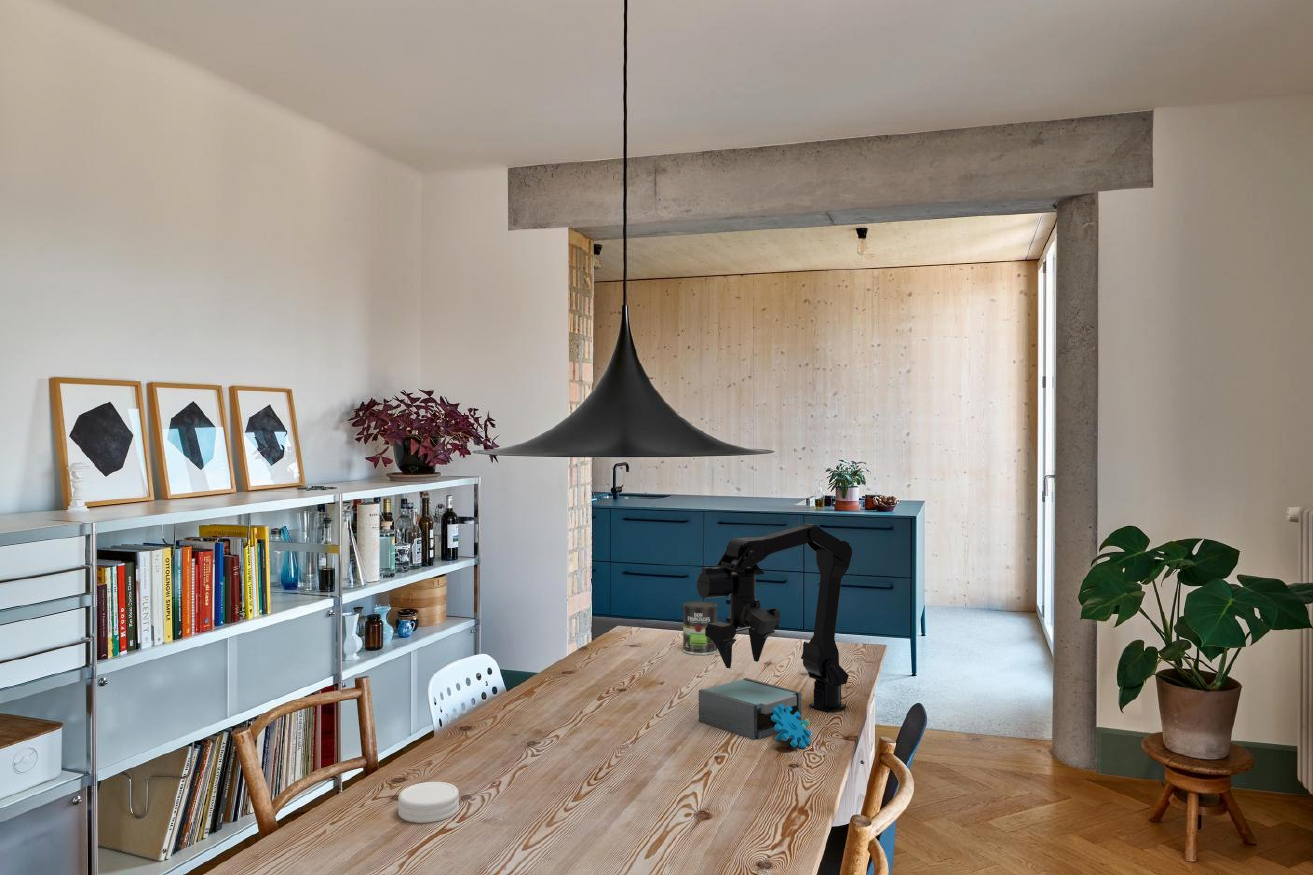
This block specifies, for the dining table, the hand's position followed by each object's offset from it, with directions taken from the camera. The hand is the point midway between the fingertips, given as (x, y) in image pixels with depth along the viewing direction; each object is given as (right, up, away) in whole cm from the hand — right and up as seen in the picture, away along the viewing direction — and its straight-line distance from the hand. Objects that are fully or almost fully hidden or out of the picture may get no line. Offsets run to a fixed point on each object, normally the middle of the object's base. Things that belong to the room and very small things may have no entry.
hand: (742, 664), depth 205 cm
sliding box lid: (+2, -8, -2) cm, 8 cm away
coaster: (-58, -13, -50) cm, 78 cm away
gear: (+9, -13, -15) cm, 22 cm away
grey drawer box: (+1, -12, -2) cm, 13 cm away
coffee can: (-6, -13, +66) cm, 68 cm away
